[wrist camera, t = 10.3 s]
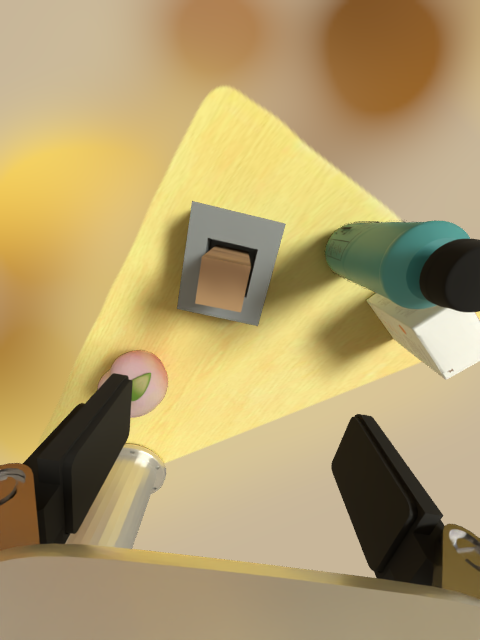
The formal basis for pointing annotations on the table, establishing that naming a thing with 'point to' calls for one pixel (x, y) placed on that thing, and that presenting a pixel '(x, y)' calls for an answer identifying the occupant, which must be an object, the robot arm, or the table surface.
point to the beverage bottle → (410, 262)
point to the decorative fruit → (141, 379)
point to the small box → (432, 334)
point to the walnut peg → (223, 278)
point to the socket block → (232, 232)
